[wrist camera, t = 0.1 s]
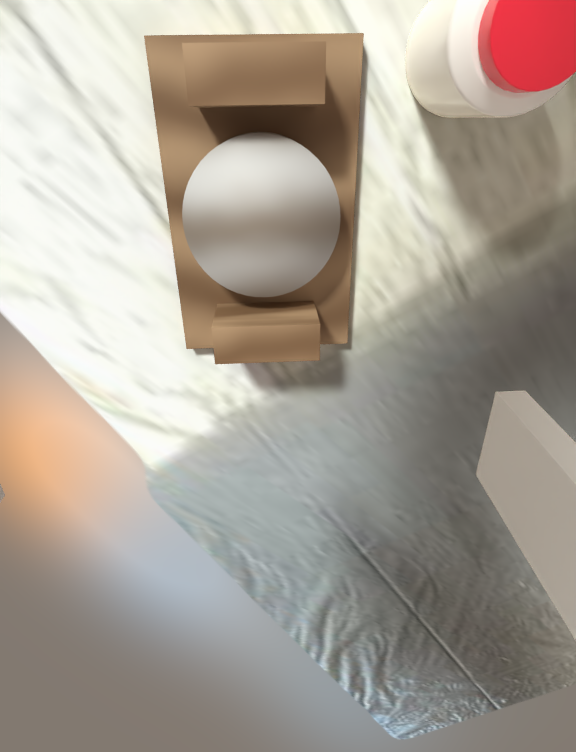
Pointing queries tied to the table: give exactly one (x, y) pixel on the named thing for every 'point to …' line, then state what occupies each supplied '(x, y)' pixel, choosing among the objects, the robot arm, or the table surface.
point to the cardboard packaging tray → (260, 187)
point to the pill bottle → (490, 55)
